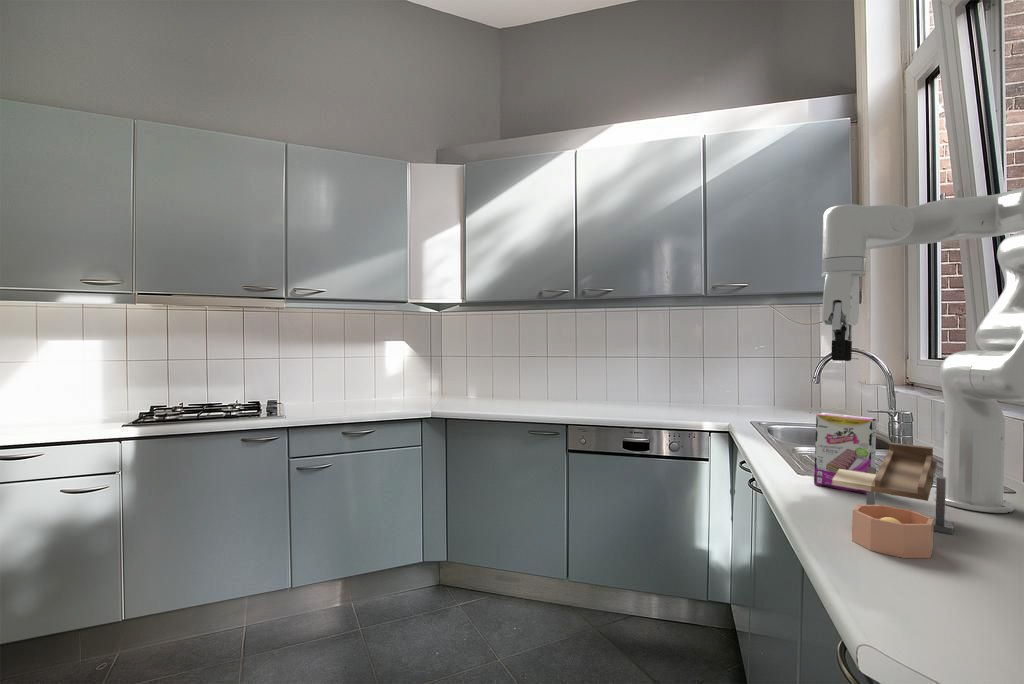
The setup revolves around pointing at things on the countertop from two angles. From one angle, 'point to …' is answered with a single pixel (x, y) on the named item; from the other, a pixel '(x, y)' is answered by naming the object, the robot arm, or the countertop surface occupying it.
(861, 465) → the candy bar box
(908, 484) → the wooden tray
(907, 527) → the salmon orange faceted bowl
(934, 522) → the stand
